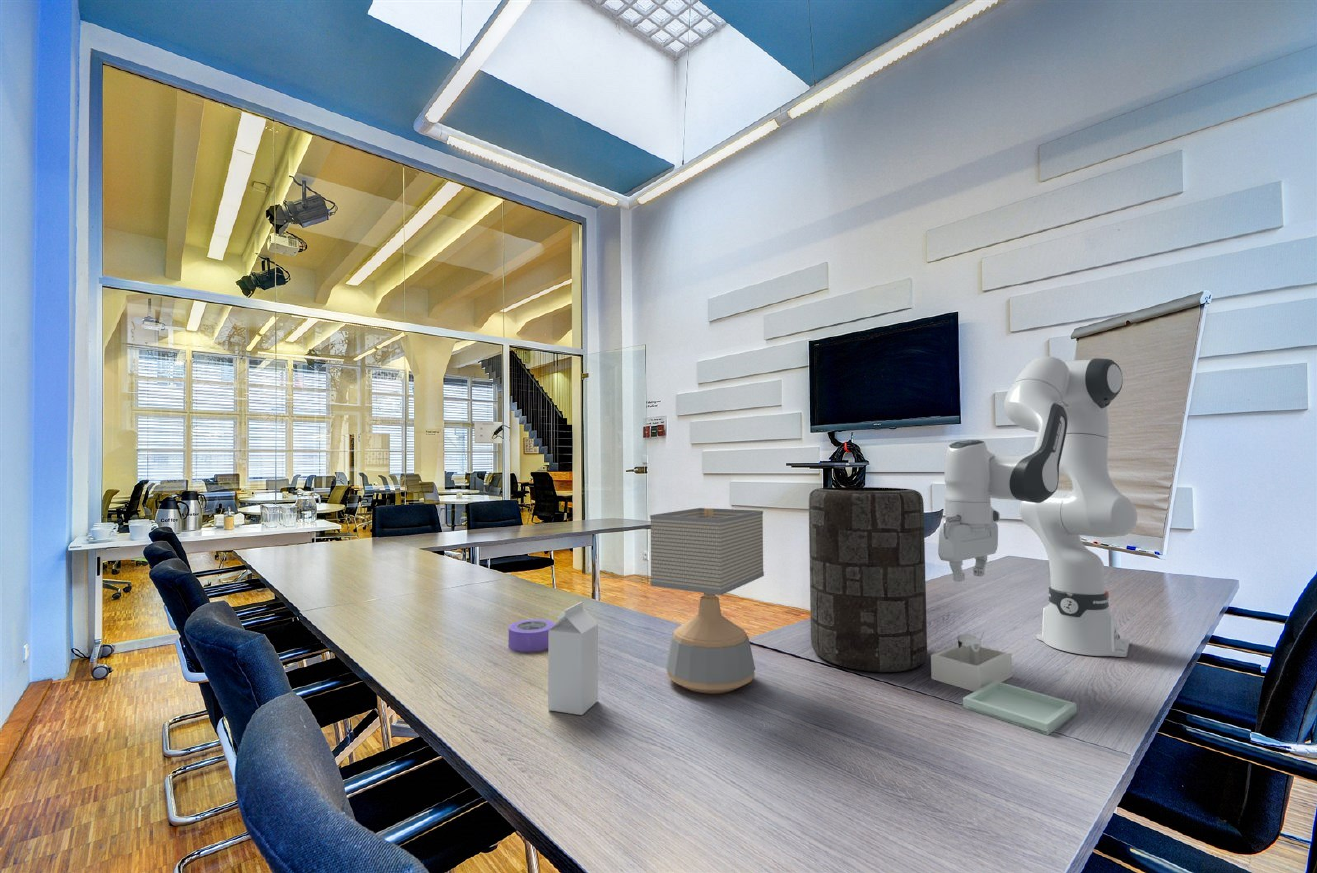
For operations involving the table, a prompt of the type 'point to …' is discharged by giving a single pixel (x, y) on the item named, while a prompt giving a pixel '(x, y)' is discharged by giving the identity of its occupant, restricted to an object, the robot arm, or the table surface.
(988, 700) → the tray
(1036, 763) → the table surface
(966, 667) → the frame
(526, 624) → the tape roll
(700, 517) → the desk lamp
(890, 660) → the planter
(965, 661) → the milkshake
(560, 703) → the milk carton
